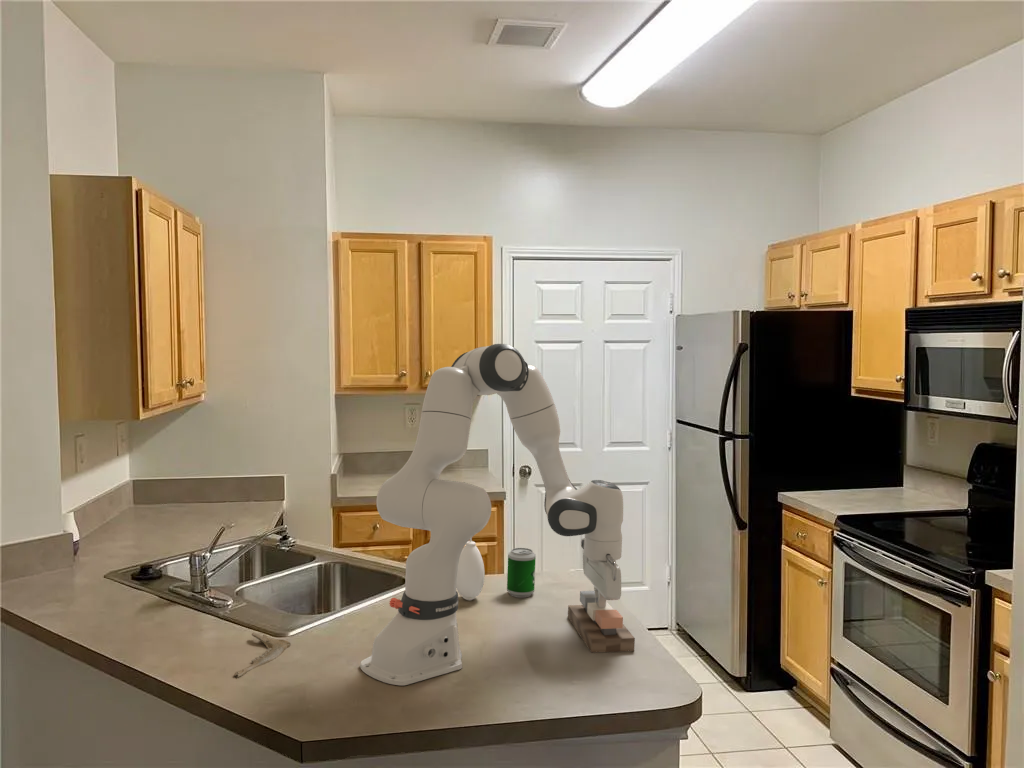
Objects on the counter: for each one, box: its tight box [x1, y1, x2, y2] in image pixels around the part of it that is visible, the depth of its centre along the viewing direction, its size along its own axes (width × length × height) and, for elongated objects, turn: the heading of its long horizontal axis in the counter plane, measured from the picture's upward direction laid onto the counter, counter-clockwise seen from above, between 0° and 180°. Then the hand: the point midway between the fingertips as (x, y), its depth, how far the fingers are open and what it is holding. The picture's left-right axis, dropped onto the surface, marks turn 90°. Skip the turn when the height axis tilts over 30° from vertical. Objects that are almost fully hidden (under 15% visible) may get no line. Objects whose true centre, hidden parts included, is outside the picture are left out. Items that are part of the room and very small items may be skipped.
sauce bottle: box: [456, 537, 486, 601], centre depth 208 cm, size 8×8×18 cm
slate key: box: [579, 590, 595, 612], centre depth 195 cm, size 5×5×6 cm
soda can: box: [506, 547, 537, 598], centre depth 214 cm, size 8×8×12 cm
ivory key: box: [587, 601, 615, 624], centre depth 188 cm, size 5×5×6 cm
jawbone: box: [233, 632, 291, 678], centre depth 169 cm, size 9×20×2 cm, turn 9°
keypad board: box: [567, 604, 636, 654], centre depth 188 cm, size 22×10×3 cm, turn 10°
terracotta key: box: [595, 609, 624, 635], centre depth 181 cm, size 5×5×6 cm
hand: (600, 605), depth 188 cm, fingers closed, pressing on ivory key
